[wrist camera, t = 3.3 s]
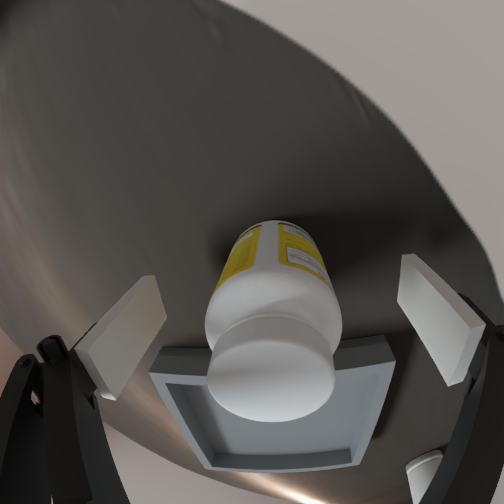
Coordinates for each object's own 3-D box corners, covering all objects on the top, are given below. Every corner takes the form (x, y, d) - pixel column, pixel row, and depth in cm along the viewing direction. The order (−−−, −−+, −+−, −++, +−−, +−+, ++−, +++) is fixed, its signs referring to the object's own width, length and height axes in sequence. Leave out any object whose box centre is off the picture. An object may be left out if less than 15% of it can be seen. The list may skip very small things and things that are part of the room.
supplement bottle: (236, 302, 18) (201, 429, 9) (226, 221, 16) (161, 316, 7) (319, 298, 17) (345, 428, 8) (319, 216, 15) (372, 309, 6)
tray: (162, 347, 20) (148, 372, 17) (383, 334, 18) (396, 360, 15) (210, 449, 26) (205, 468, 23) (356, 443, 24) (359, 464, 21)
